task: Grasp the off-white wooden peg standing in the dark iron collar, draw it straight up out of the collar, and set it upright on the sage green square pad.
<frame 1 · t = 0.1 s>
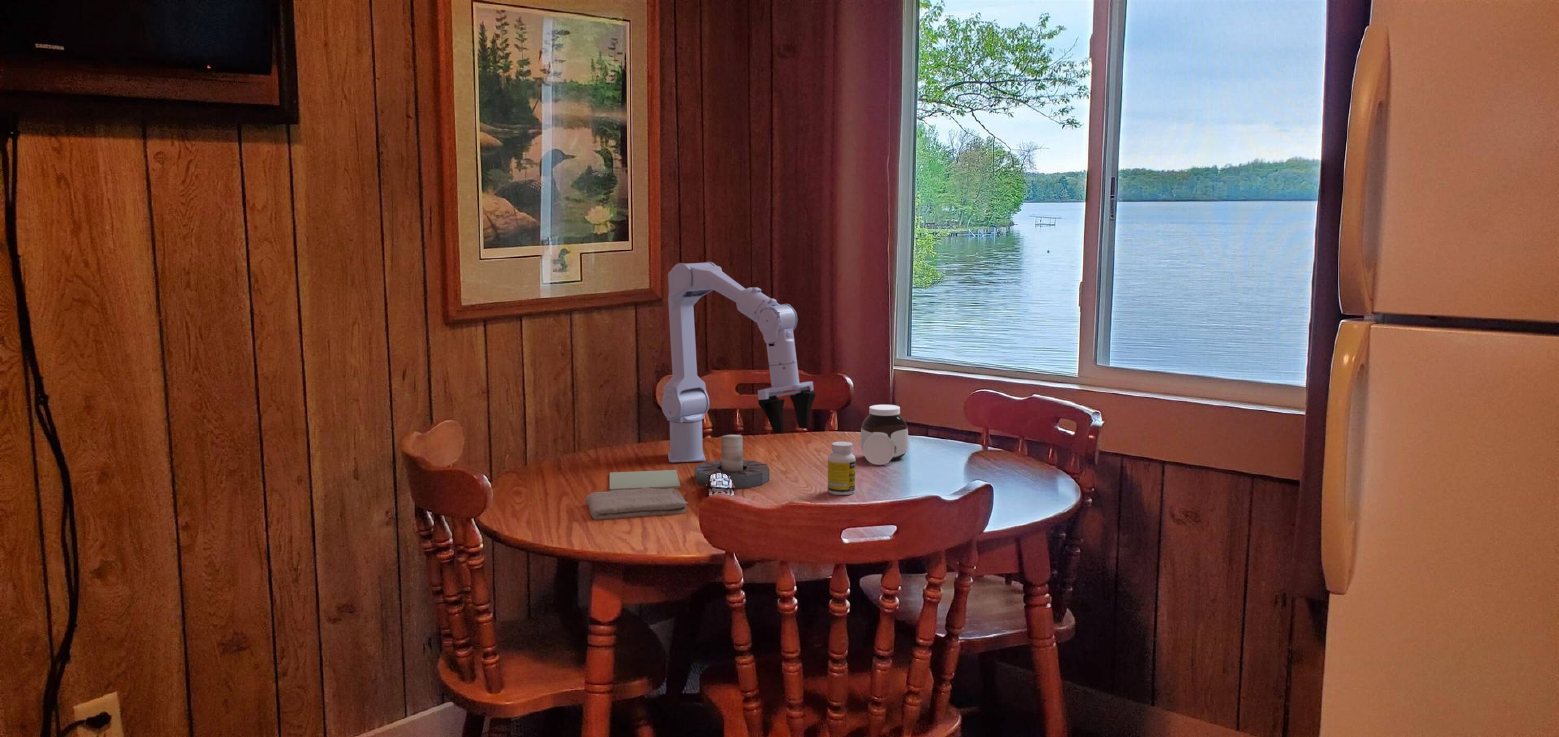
hand: (791, 430, 221), 10 cm above the table, tool pointing down, fingers open, 7 cm apart
peg: (732, 458, 223), in the iron collar
iron collar: (732, 479, 224), on the table
spread jar: (883, 461, 241), on the table
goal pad: (644, 480, 223), on the table
supplement bottle: (841, 493, 213), on the table
washcloth: (636, 512, 202), on the table
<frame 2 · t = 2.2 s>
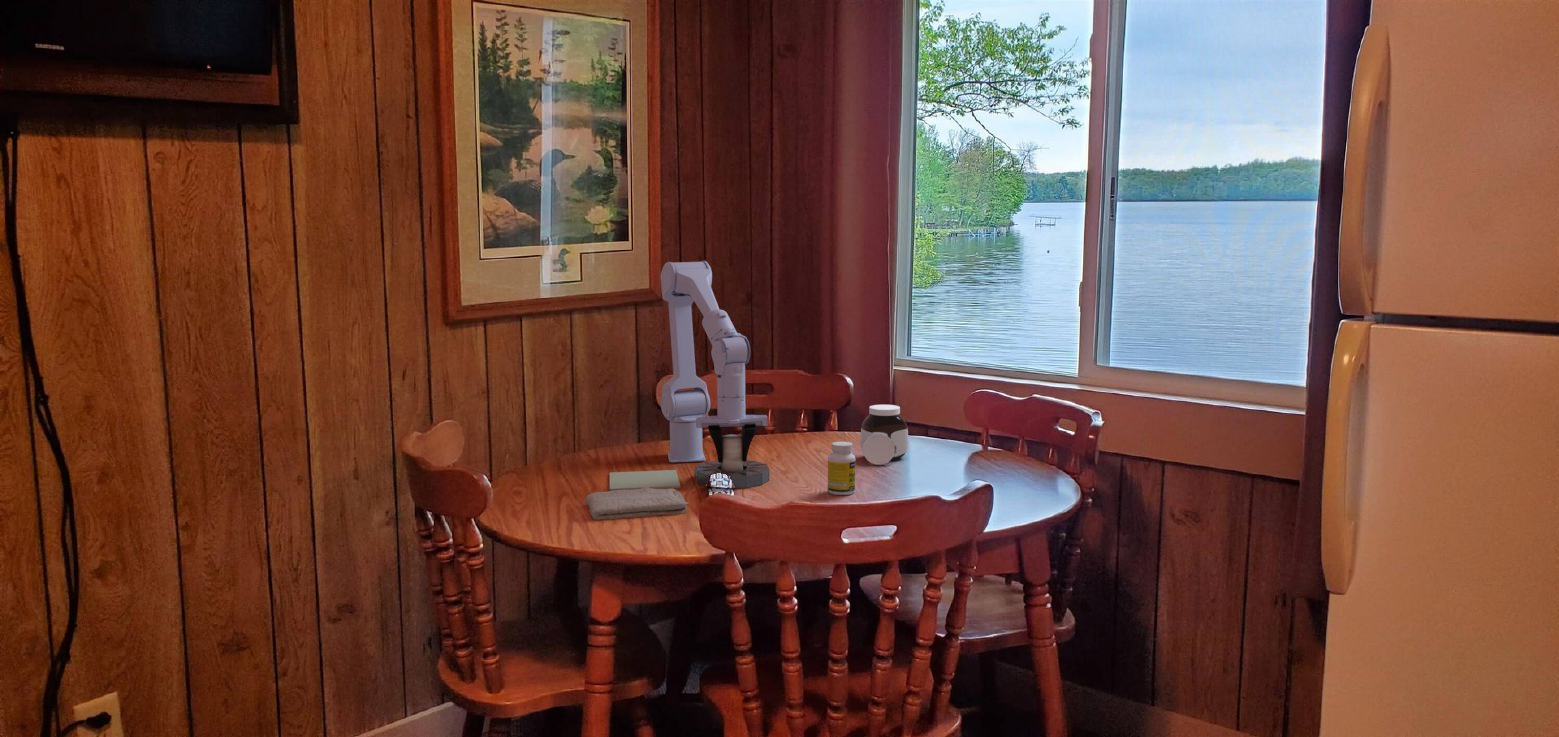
hand: (732, 461, 223), 4 cm above the table, tool pointing down, fingers closed on peg, 4 cm apart
peg: (732, 458, 223), in the iron collar, touching gripper
everything else where it was.
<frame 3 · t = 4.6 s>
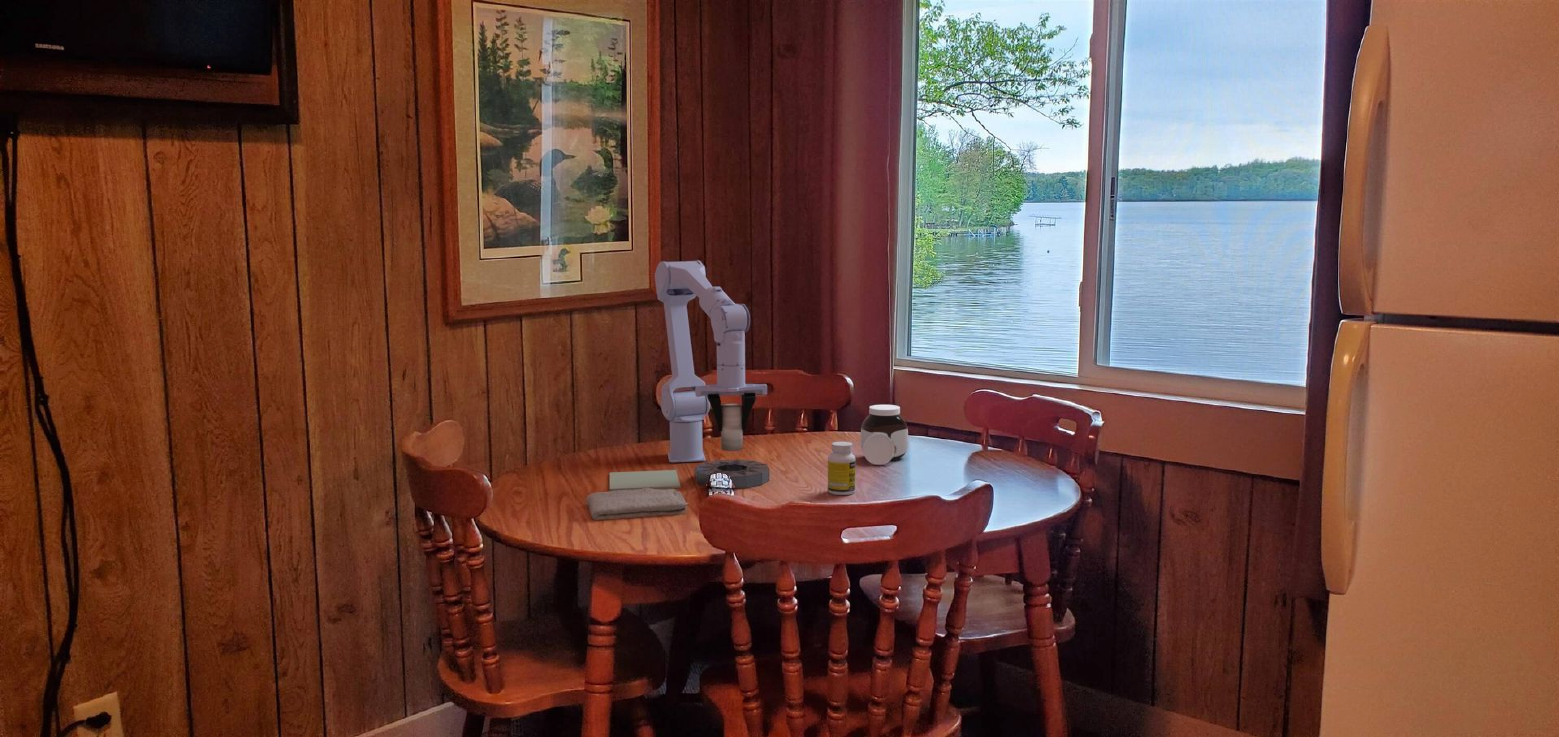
hand: (731, 430, 222), 10 cm above the table, tool pointing down, fingers closed on peg, 4 cm apart
peg: (731, 427, 222), point 11 cm above the table, touching gripper
everything else where it was.
when the fingers open (6 cm above the table, at t = 7.5 s): peg drops 2 cm, resting on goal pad.
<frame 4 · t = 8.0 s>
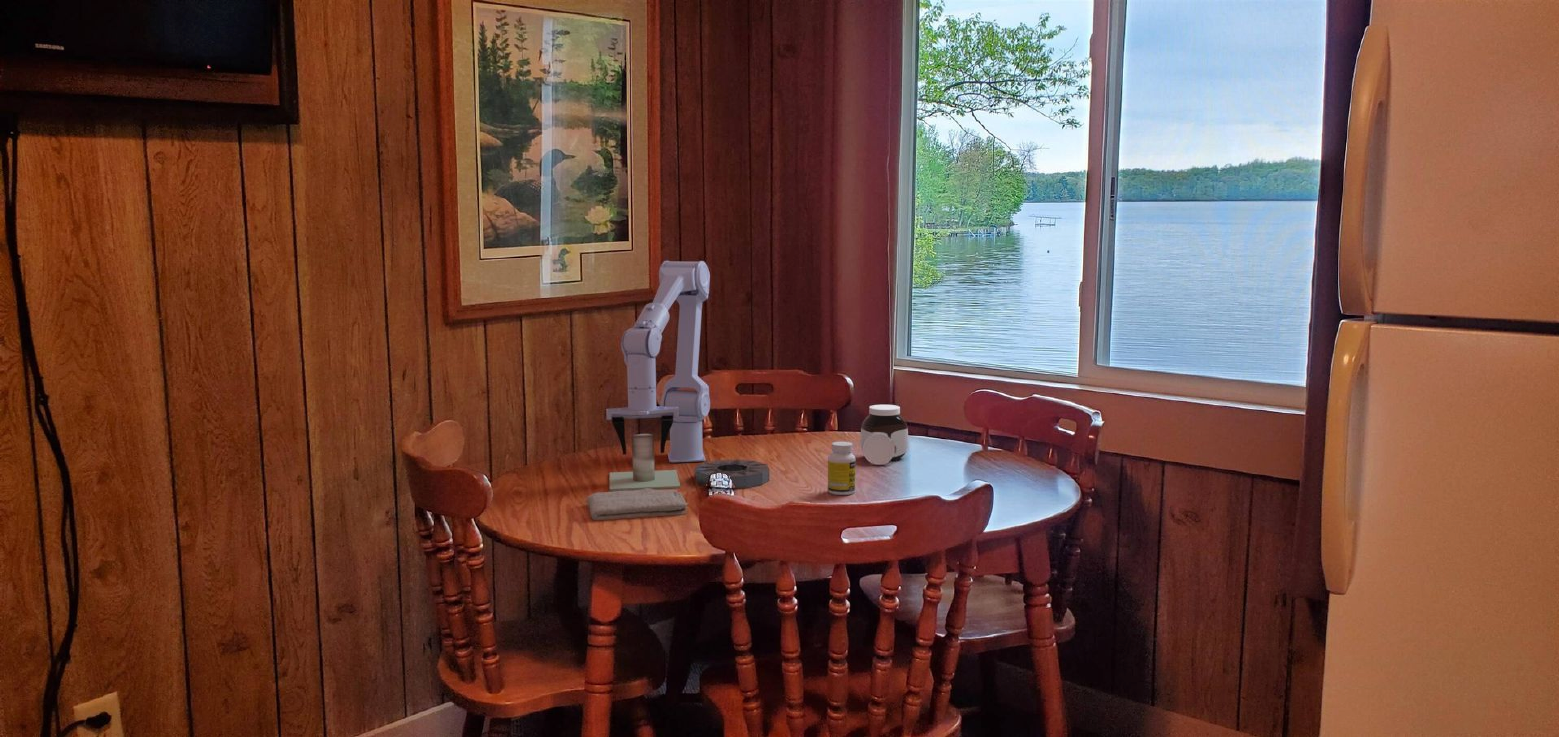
hand: (643, 452, 222), 6 cm above the table, tool pointing down, fingers open, 7 cm apart
peg: (643, 457, 222), on the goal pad
everything else where it was.
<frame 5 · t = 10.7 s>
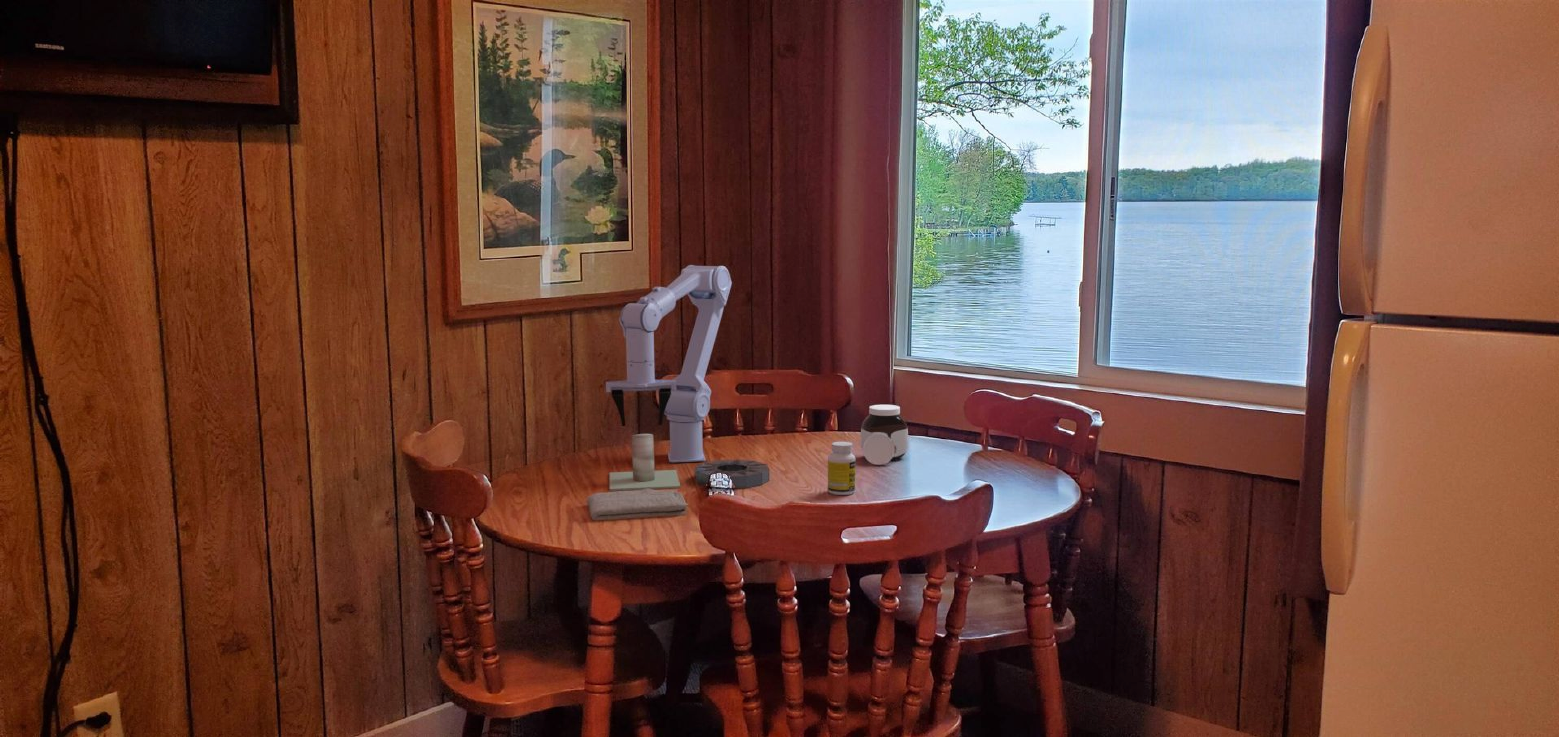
hand: (642, 424, 228), 10 cm above the table, tool pointing down, fingers open, 7 cm apart
nothing on the table moved.
at the end: peg inside the target area on the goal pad (0.1 cm from its centre), point 4.9 cm above the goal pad's base; peg tilted 1°; the gripper is holding nothing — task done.
